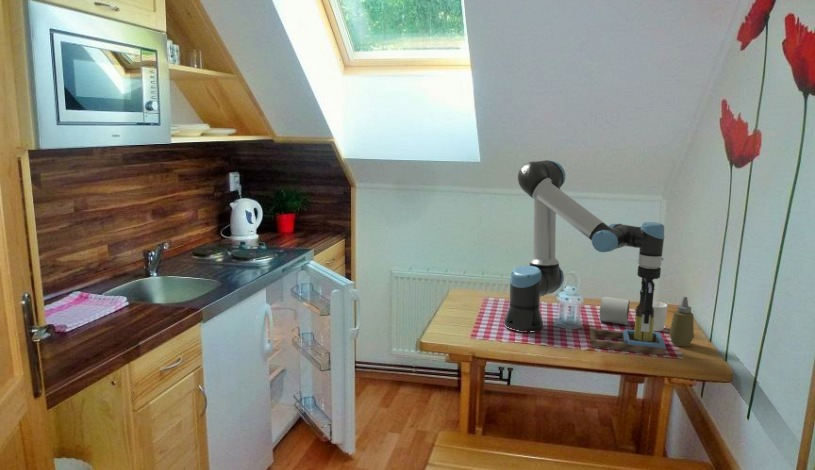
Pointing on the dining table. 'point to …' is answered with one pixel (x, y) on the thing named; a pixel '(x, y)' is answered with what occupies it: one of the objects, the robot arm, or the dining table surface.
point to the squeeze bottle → (682, 325)
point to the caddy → (627, 341)
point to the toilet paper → (614, 310)
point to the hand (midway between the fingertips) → (643, 328)
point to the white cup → (659, 315)
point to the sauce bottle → (638, 320)
